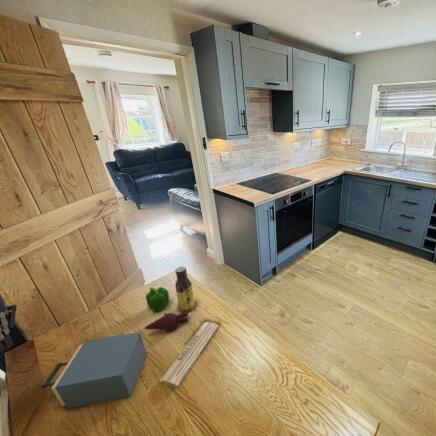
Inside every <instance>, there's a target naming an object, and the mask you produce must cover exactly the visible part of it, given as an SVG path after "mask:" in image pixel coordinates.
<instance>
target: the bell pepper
mask: <svg viewBox="0 0 436 436" xmlns="http://www.w3.org/2000/svg"><path fill="white" fill-rule="evenodd" d="M145 300H146V304H147V305H148V307H149V308H150V309H151V310H152V311H154V312H161V311H163V310H164V309H166V308H167V306H168V304H169V302H170V292H169V291H168V289H166V288H165V287H162V286H161V287H158V288H155V287H149V291H148V293H146V295H145Z"/></svg>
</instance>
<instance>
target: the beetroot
mask: <svg viewBox="0 0 436 436" xmlns="http://www.w3.org/2000/svg"><path fill="white" fill-rule="evenodd" d="M188 315H189V312H182V311H181V312H180V313H179V314H176V313H175V312H167V313H166V312H165V313H164V314H163V316H161V317H160V318H157V319H156V320H154V321H153V322H151V323H149V324H147V325H146V326H145V327H144V330H158V331H159V330H160V331H165V332H166V333H168V331H169V332H170V331H173V330H175V328H177V326H179V325H180V324H184V323H187V322H189V318H188Z"/></svg>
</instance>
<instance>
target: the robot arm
mask: <svg viewBox="0 0 436 436" xmlns="http://www.w3.org/2000/svg"><path fill="white" fill-rule="evenodd" d="M17 308H18V307H17V304H7V305H6V300H5V299H4V298H3V296H2V294H1V293H0V352H1V351H8V350H9V349H10V348H11V347H12V346H13V345H14V343H13V338H12V337H11V335H10V329H12V328H14V326H15V322H16V321H15V320H16V314H17Z"/></svg>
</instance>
